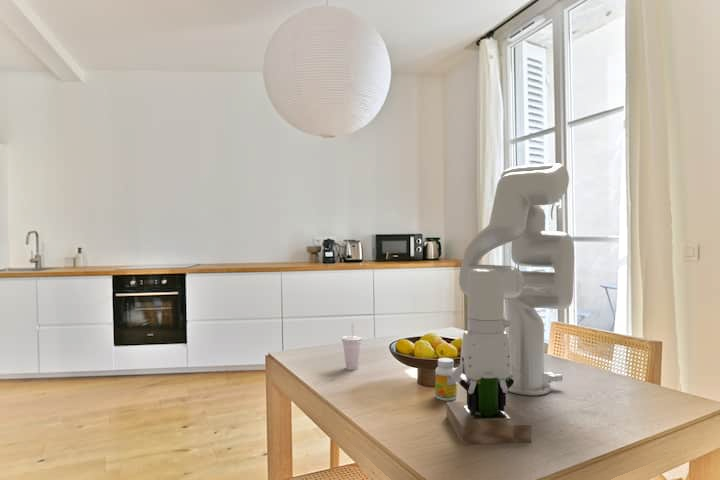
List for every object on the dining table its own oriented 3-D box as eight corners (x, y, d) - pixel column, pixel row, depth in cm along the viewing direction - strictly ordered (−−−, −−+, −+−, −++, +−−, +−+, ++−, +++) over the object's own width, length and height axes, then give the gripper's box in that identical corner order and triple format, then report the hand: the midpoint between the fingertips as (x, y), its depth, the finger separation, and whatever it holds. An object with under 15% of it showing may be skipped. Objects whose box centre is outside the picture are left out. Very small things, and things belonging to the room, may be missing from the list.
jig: (506, 415, 110) (506, 400, 110) (531, 442, 96) (531, 424, 96) (446, 417, 109) (446, 402, 109) (463, 444, 95) (462, 427, 95)
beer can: (487, 432, 99) (487, 375, 99) (468, 423, 104) (467, 368, 103) (504, 426, 102) (504, 370, 102) (485, 418, 107) (485, 364, 106)
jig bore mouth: (497, 405, 107) (497, 404, 107) (510, 419, 99) (510, 418, 99) (463, 406, 106) (463, 405, 106) (473, 420, 99) (473, 419, 99)
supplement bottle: (431, 395, 124) (431, 358, 124) (448, 392, 126) (448, 356, 126) (442, 402, 119) (442, 363, 119) (460, 399, 121) (460, 361, 121)
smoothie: (366, 367, 150) (365, 323, 150) (355, 372, 145) (354, 326, 144) (349, 364, 154) (348, 321, 153) (337, 369, 148) (337, 324, 148)
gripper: (517, 321, 107) (518, 401, 107) (442, 323, 106) (443, 404, 106) (531, 328, 99) (532, 414, 100) (450, 330, 98) (451, 417, 99)
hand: (486, 408), depth 103 cm, fingers closed on beer can, 5 cm apart
